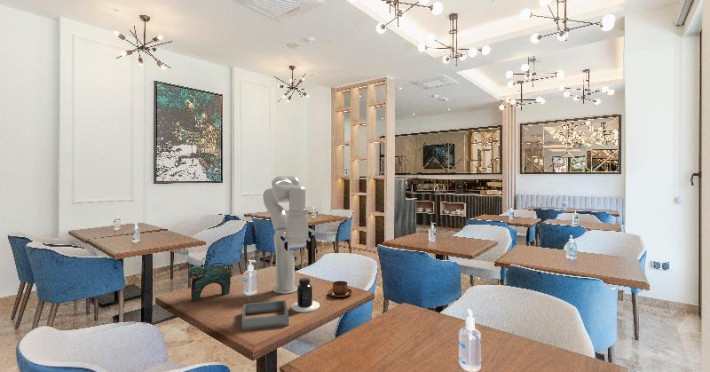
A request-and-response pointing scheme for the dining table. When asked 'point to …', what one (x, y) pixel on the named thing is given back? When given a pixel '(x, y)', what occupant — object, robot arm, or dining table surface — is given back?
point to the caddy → (264, 321)
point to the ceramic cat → (208, 278)
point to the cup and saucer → (340, 289)
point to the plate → (313, 307)
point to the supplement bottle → (304, 293)
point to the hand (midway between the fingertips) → (297, 249)
